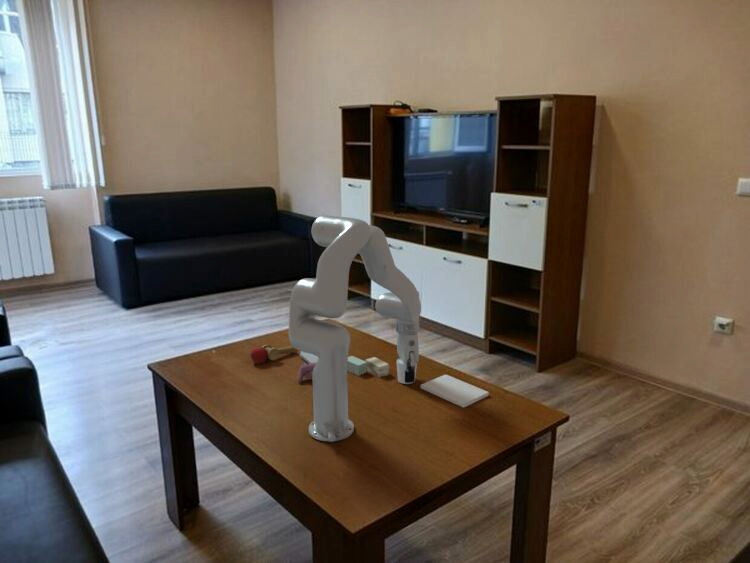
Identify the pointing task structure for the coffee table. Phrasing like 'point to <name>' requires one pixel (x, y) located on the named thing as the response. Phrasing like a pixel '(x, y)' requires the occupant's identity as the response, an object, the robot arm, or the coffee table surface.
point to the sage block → (356, 365)
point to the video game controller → (306, 371)
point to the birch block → (377, 367)
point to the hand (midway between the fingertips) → (406, 377)
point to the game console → (309, 357)
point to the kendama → (269, 353)
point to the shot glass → (403, 370)
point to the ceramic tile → (454, 390)
